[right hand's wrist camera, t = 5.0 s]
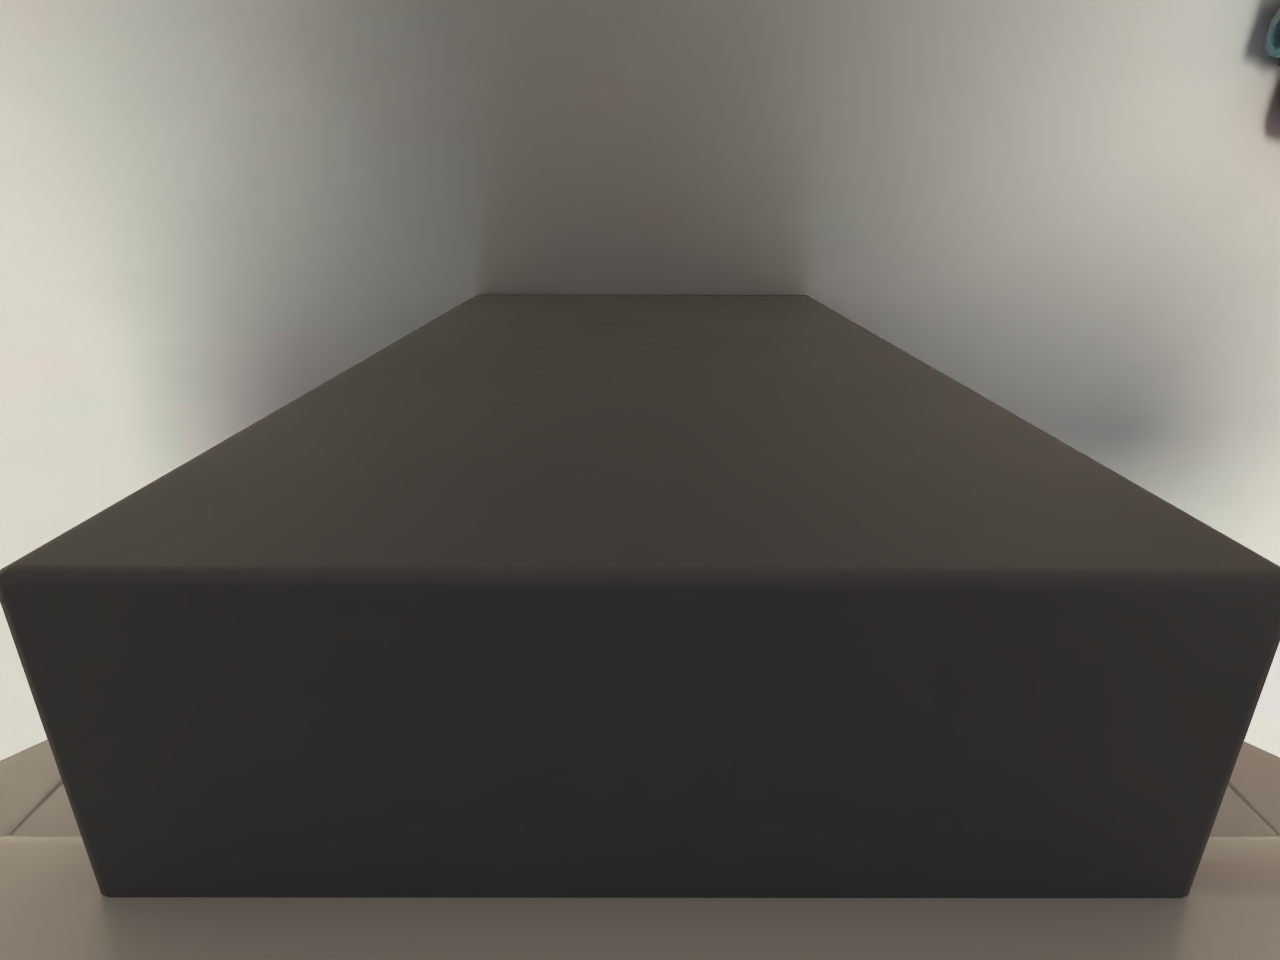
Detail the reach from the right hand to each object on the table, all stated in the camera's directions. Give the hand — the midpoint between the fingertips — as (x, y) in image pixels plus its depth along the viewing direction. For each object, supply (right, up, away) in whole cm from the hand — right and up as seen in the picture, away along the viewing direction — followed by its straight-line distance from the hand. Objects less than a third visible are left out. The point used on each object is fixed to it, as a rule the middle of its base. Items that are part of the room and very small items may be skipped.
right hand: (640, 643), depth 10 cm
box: (0, -5, +8) cm, 10 cm away
